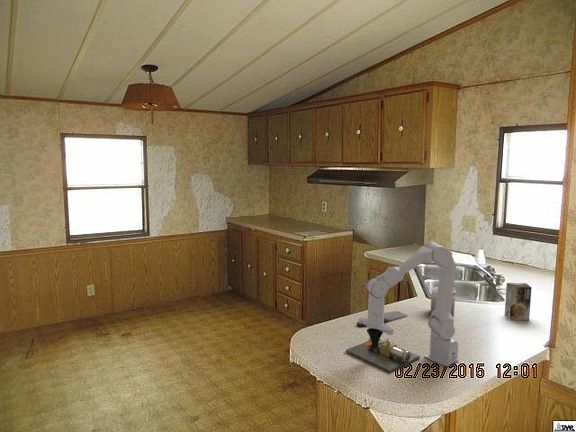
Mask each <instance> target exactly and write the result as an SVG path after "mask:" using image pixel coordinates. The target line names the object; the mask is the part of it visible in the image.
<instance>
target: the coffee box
mask: <svg viewBox="0 0 576 432" xmlns="http://www.w3.org/2000/svg"><path fill="white" fill-rule="evenodd" d="M531 299H532V286H530V285H529V284H528V283H526V282H506V290H505V301H504V302H505V304H504V316H505V317H506V318H507V319H508V320H509V321H510V320H515V321H519V320H520V321H530V315H531V314H530V313H531V301H532V300H531Z"/></svg>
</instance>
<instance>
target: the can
mask: <svg viewBox="0 0 576 432" xmlns="http://www.w3.org/2000/svg"><path fill="white" fill-rule="evenodd" d="M437 290H438V286H435V287H433V288H431V289H430V291H431V293H430V294H431V296H430V297H431V299H430V314H431V315H432V311H434V310H435V308H436V299H437ZM456 293H457V290H456V289H455V287H454V288H453V296H452V305H451V315H452V317H454V316H455V305H456V304H455V303H456Z"/></svg>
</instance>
